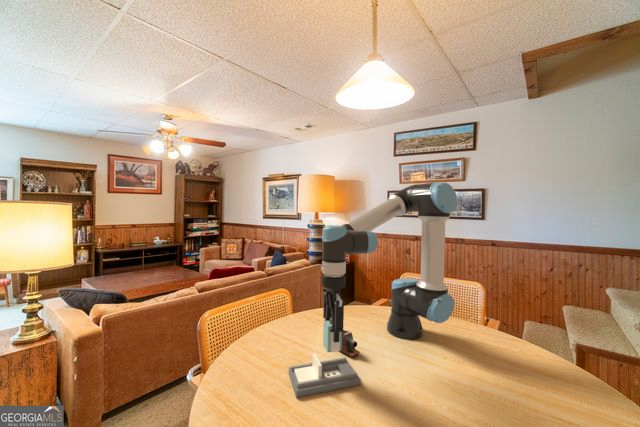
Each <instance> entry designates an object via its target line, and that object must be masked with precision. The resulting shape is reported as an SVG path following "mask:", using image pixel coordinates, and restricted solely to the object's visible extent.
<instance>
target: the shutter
mask: <svg viewBox="0 0 640 427" xmlns="http://www.w3.org/2000/svg"><path fill="white" fill-rule="evenodd" d="M311 355H312V356H311V361H312V362H311V363H312V366H309V367H303V368H297V369H294V372H295V375H296V377H297V380H298V383H299V382H304V381H310V380H315V379H321V378H322V365H321V363H320V362H321V361H320V359H319V358H318V355H317V354H316V353H312V354H311Z"/></svg>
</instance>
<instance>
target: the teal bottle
mask: <svg viewBox="0 0 640 427" xmlns="http://www.w3.org/2000/svg"><path fill="white" fill-rule="evenodd" d="M330 330H332V317H331V318H330V320H328V321H325V320H323V342H322V343H323V347H324V349H325V351H326V353H332V352H331V332H330ZM341 339H342V332H340V351H341ZM340 351H339V352H340Z"/></svg>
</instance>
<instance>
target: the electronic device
mask: <svg viewBox="0 0 640 427" xmlns="http://www.w3.org/2000/svg"><path fill="white" fill-rule="evenodd" d="M357 346H358V342H357V341H355V340H354V337H353V333H352V332H351V331H349V330H344V329H343V332H342V339H341V351H339V352H340V353H343V354H345V355H346V356H348V357H349V358H350V359H353V358H354V357H358V355H359V354H360V351H359V350H358V349H357Z"/></svg>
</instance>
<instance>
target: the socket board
mask: <svg viewBox="0 0 640 427" xmlns="http://www.w3.org/2000/svg"><path fill="white" fill-rule="evenodd" d="M349 362H350V361H348V360H347V358H346V357H339V358H334V359H327V360H323V361H320V363H321V365H322V378H321V379H315V380H310V381H304V382H299V383H298V380H297V377H296V375H295V372H294V369H297V368H303V367H309V366H312V362H311V363H310V362H309V363H304V364H298V365H297V364H296V365H291V366H289V367H288V376H289V379H290V382H291V385H292V389H293V392H294V395H295V398H296V399H299V398H304V397H310V396H313V395H318V394H323V393H329V392H333V391H338V390H339V391H340V390H344V389H349V388H354V387H358V386H361V377H360V376H359V375H358V373H357V371H355V369H354V368H353V367H352V365H351V364H350V363H349Z"/></svg>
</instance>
